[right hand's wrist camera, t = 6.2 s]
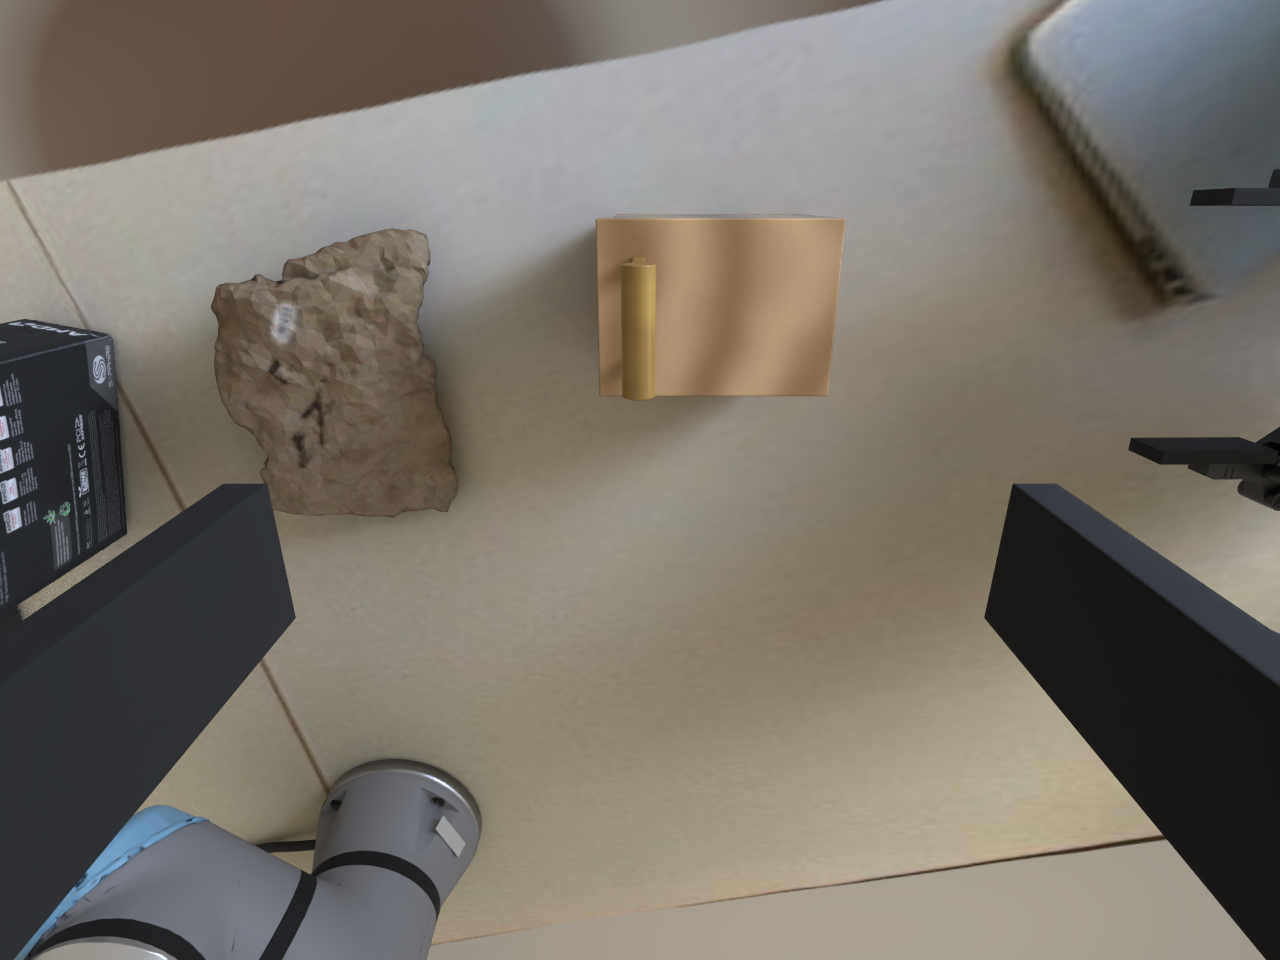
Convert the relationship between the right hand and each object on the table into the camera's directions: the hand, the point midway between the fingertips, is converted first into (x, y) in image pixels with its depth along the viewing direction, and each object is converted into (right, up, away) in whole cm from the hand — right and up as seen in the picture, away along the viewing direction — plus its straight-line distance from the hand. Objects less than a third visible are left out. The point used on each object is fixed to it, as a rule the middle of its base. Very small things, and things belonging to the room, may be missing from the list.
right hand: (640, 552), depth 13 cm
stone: (-21, +9, +40) cm, 46 cm away
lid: (+4, +11, +28) cm, 31 cm away
